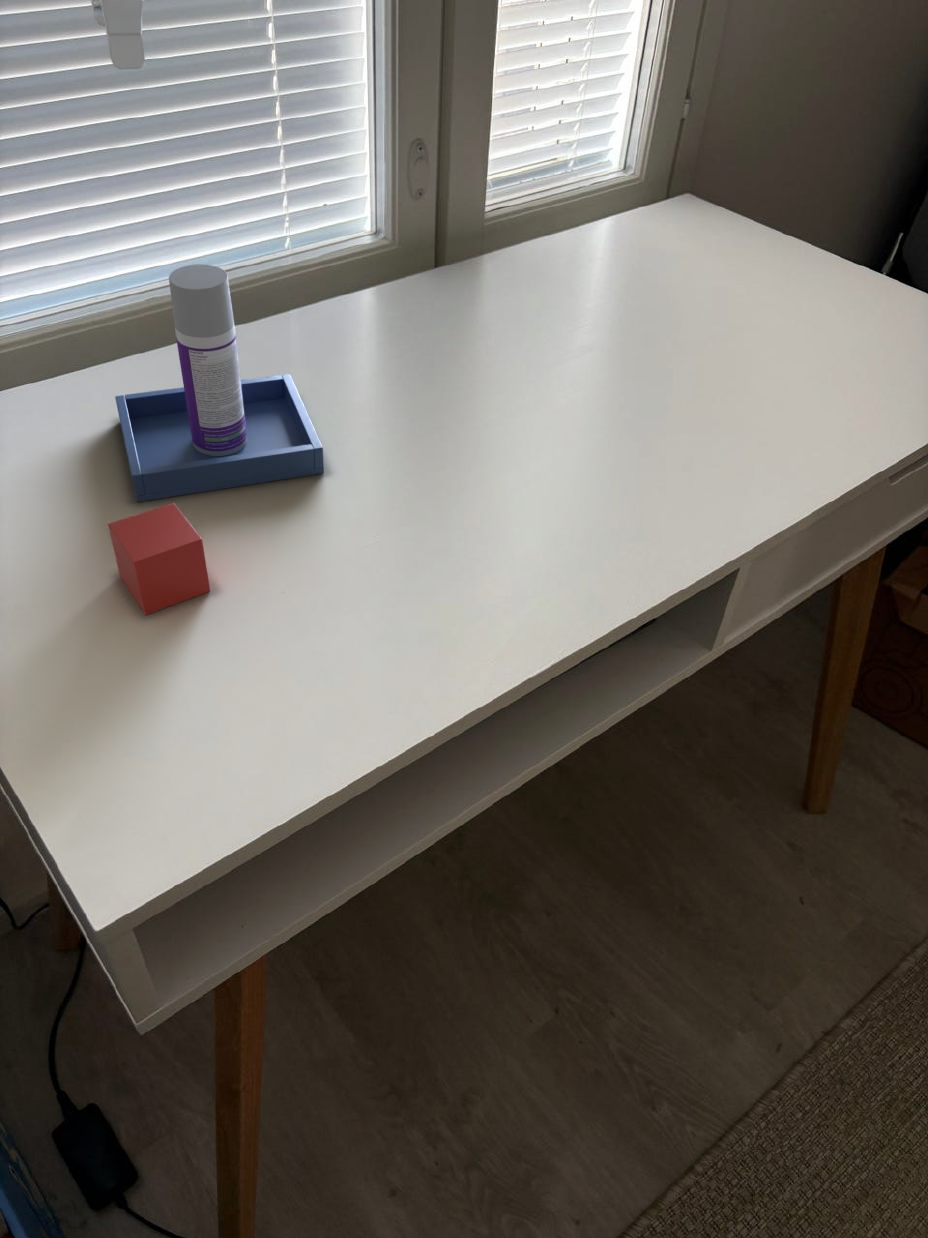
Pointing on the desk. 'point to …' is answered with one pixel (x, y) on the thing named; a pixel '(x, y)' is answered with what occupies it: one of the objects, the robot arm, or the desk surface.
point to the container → (208, 358)
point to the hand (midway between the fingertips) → (118, 43)
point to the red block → (159, 558)
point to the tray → (177, 468)
